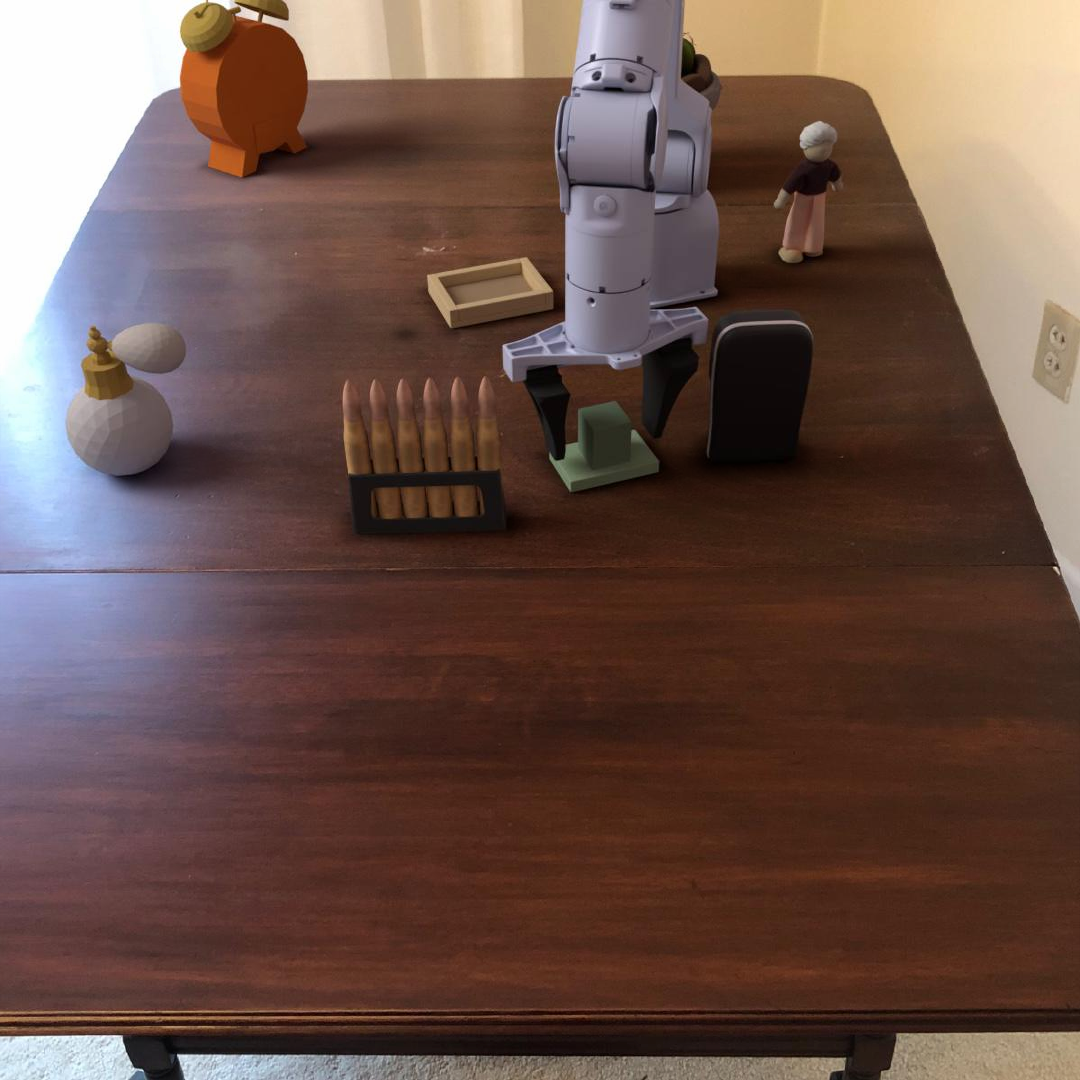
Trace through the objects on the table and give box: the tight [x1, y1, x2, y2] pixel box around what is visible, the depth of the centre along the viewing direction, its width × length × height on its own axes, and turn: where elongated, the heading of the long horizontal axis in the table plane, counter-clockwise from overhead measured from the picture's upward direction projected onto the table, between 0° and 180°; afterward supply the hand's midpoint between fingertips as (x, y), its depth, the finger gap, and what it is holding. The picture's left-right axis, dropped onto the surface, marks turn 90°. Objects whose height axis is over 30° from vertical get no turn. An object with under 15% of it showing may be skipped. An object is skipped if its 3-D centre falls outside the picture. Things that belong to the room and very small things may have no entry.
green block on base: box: [548, 400, 660, 493], centre depth 90 cm, size 7×4×4 cm, turn 110°
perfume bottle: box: [64, 322, 187, 477], centre depth 88 cm, size 8×10×12 cm
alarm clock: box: [179, 0, 309, 179], centre depth 130 cm, size 13×6×20 cm, turn 144°
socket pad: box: [426, 256, 554, 330], centre depth 110 cm, size 10×7×2 cm
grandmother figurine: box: [773, 120, 844, 264], centre depth 113 cm, size 8×4×13 cm, turn 131°
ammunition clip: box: [342, 375, 507, 535], centre depth 82 cm, size 11×2×12 cm, turn 92°
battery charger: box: [705, 309, 814, 463], centre depth 89 cm, size 7×4×11 cm, turn 93°
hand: (604, 441), depth 90 cm, fingers open, 7 cm apart
